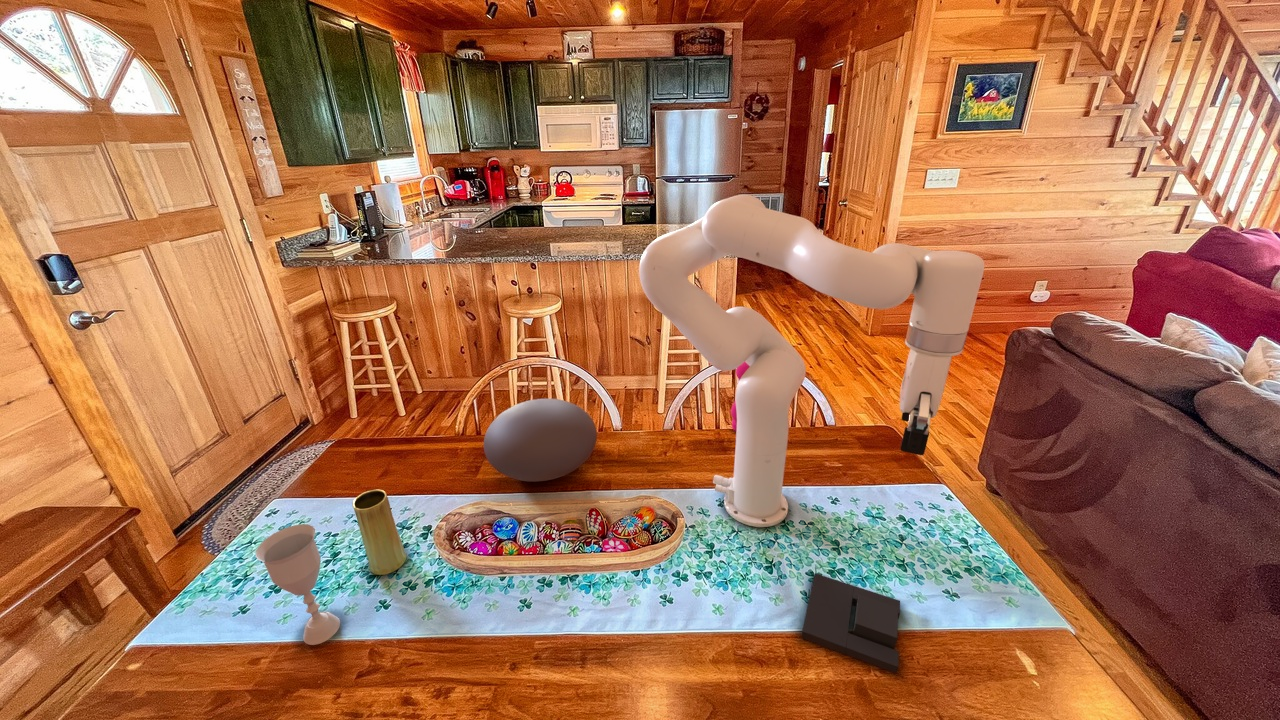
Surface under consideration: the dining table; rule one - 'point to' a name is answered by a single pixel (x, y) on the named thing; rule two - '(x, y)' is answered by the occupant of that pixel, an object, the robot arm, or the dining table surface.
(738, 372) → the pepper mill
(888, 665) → the base pad
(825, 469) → the dining table surface
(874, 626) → the connector pad
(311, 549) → the chalice
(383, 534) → the vase
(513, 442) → the flattened ellipsoid
